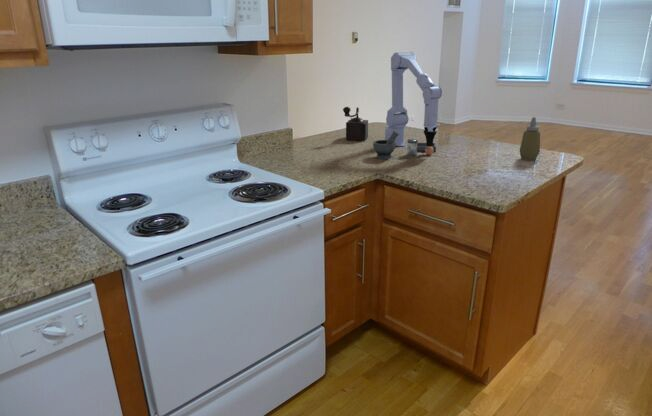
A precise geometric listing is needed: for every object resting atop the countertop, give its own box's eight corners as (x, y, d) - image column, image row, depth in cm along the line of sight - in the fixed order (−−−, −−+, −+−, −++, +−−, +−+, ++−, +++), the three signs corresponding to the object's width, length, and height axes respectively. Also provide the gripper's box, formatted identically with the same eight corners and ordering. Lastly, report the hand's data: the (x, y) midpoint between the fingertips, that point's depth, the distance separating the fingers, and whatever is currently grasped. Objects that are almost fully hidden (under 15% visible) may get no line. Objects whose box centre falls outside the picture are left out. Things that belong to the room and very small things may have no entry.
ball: (424, 155, 211) (424, 147, 210) (424, 153, 215) (424, 145, 213) (433, 155, 210) (433, 147, 209) (433, 153, 214) (433, 145, 213)
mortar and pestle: (371, 159, 207) (372, 132, 203) (374, 154, 216) (374, 128, 211) (397, 160, 205) (398, 133, 200) (398, 155, 213) (399, 129, 209)
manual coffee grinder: (348, 136, 254) (348, 103, 248) (368, 137, 252) (368, 103, 246) (342, 142, 240) (341, 107, 234) (363, 143, 238) (363, 107, 231)
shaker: (406, 155, 212) (407, 141, 209) (407, 153, 216) (407, 139, 213) (416, 156, 211) (417, 141, 208) (417, 153, 215) (418, 139, 212)
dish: (411, 151, 220) (411, 146, 219) (412, 147, 227) (412, 142, 226) (435, 151, 217) (435, 146, 217) (435, 147, 225) (435, 143, 224)
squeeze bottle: (540, 162, 197) (546, 119, 190) (520, 161, 198) (525, 118, 192) (536, 157, 204) (542, 115, 198) (516, 156, 206) (522, 115, 199)
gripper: (440, 116, 199) (438, 148, 203) (440, 111, 212) (438, 141, 217) (423, 116, 200) (422, 147, 205) (424, 111, 213) (422, 140, 218)
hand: (429, 144), depth 211 cm, fingers open, 7 cm apart
